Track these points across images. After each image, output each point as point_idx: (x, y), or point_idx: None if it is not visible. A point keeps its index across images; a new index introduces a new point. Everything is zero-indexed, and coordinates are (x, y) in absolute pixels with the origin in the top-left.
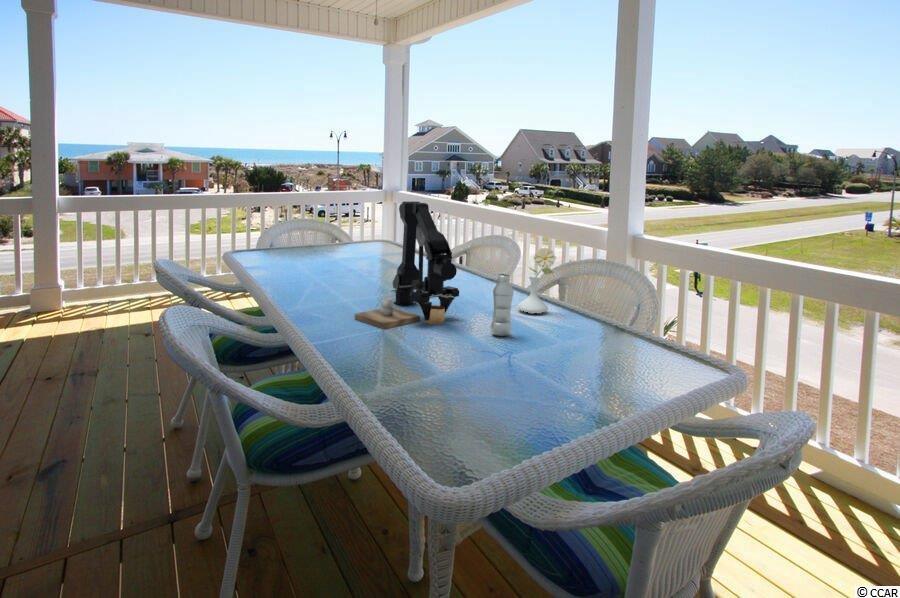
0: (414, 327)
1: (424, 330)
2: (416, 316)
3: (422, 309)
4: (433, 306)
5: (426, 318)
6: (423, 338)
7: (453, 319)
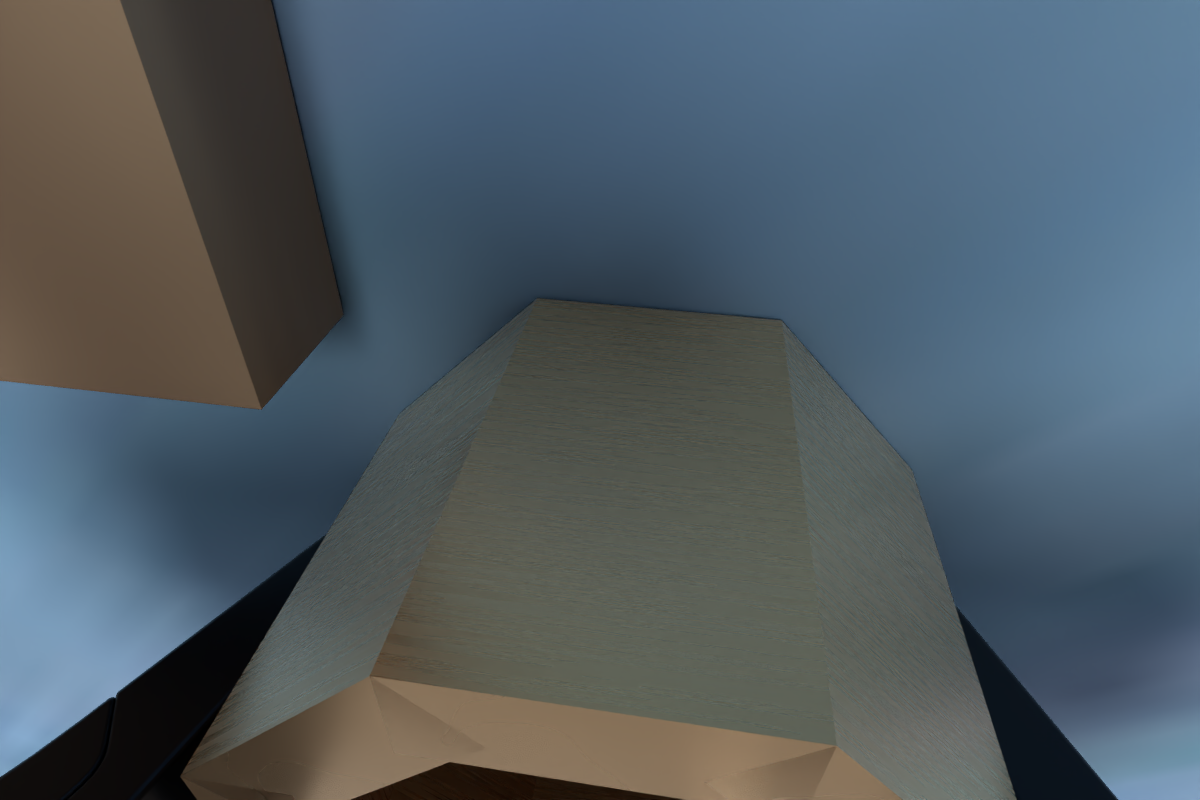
0: (42, 499)
1: (150, 654)
2: (117, 384)
3: (62, 767)
4: (787, 797)
5: None
6: (25, 754)
7: (1089, 664)
